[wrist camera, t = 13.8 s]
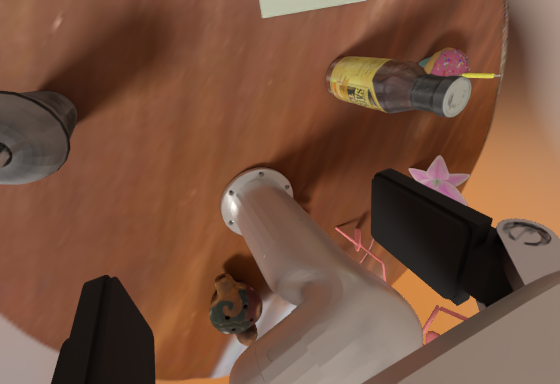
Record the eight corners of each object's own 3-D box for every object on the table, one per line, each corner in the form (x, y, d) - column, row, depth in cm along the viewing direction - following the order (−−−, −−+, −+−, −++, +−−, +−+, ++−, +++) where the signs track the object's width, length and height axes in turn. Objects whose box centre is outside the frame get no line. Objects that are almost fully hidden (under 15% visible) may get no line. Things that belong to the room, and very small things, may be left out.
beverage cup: (11, 67, 29) (-167, 91, 12) (95, 89, 32) (42, 131, 16) (9, 134, 31) (-143, 231, 15) (88, 149, 35) (36, 239, 18)
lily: (421, 137, 58) (438, 161, 51) (468, 157, 60) (491, 183, 52) (388, 181, 65) (398, 207, 58) (431, 197, 67) (446, 225, 59)
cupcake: (441, 40, 48) (516, 38, 39) (440, 88, 53) (507, 97, 43) (402, 58, 47) (469, 61, 37) (404, 106, 52) (465, 120, 42)
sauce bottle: (316, 88, 43) (419, 112, 27) (336, 47, 42) (457, 48, 25) (346, 105, 47) (453, 137, 30) (364, 68, 45) (488, 81, 29)
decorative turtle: (225, 327, 58) (232, 362, 51) (190, 278, 50) (192, 312, 43) (267, 303, 59) (279, 335, 52) (239, 253, 52) (249, 282, 45)
